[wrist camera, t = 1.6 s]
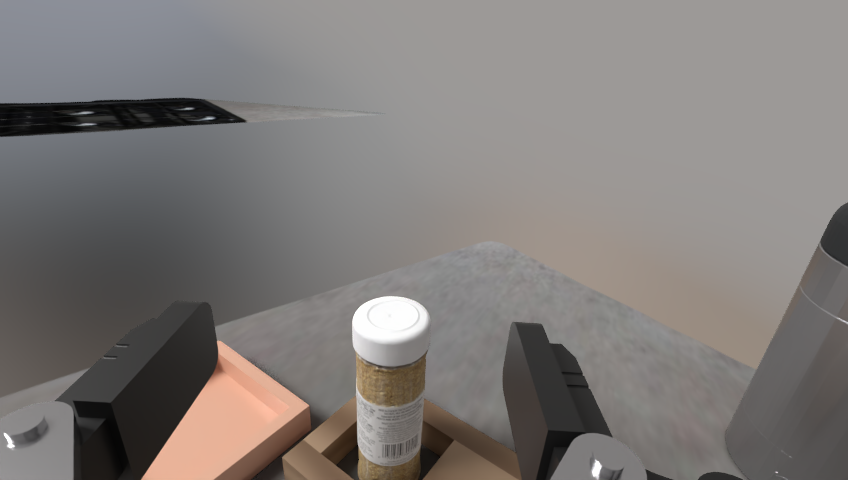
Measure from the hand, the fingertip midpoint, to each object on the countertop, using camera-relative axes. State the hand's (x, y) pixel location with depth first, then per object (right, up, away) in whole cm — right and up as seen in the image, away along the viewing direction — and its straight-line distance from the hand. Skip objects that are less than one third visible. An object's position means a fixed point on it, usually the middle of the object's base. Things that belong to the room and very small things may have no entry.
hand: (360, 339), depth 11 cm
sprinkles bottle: (-1, -14, +19) cm, 24 cm away
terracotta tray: (-15, -12, +20) cm, 28 cm away
